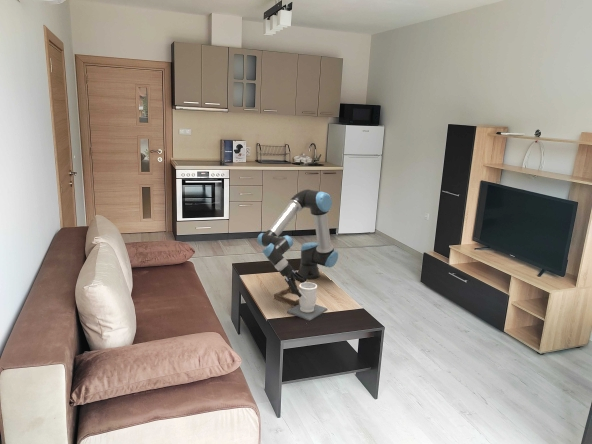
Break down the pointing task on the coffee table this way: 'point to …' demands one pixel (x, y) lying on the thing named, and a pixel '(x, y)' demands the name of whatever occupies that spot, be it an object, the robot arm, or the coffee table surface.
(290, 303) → the collar
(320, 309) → the board
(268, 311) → the coffee table surface
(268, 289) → the coffee table surface
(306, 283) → the jar
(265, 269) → the coffee table surface
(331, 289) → the coffee table surface
